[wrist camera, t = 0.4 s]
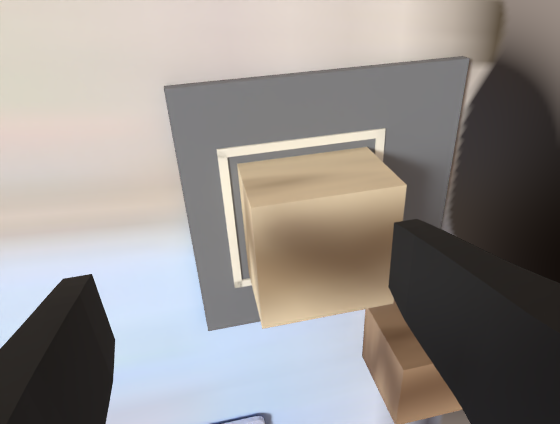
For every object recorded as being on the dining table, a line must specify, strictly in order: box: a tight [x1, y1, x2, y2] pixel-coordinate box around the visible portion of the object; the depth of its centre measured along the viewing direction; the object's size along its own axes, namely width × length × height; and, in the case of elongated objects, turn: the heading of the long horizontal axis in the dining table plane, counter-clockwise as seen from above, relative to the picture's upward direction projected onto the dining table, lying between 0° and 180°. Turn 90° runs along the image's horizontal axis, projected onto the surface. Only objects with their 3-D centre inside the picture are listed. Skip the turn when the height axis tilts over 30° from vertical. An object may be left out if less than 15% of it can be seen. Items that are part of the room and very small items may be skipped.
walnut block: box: [362, 300, 463, 424], centre depth 25 cm, size 4×4×5 cm
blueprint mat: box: [164, 56, 469, 331], centre depth 21 cm, size 13×13×1 cm
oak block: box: [237, 147, 407, 329], centre depth 19 cm, size 6×6×4 cm
